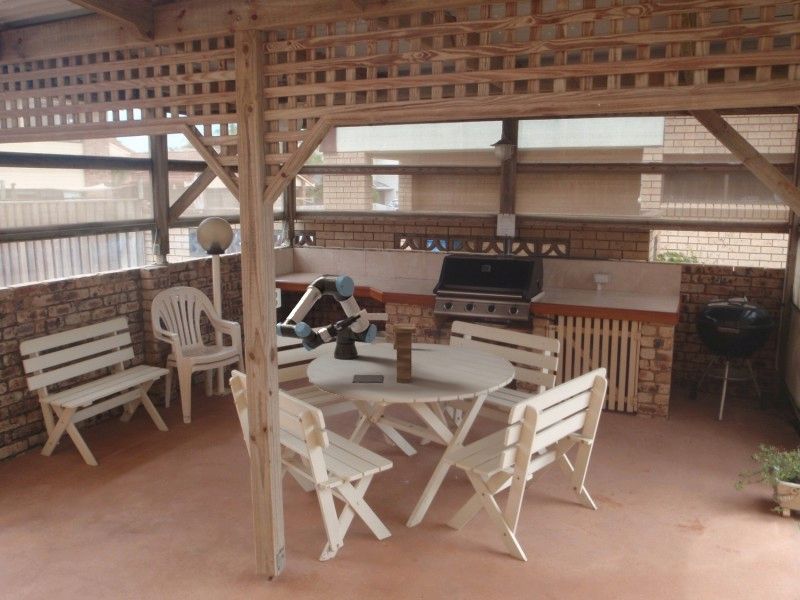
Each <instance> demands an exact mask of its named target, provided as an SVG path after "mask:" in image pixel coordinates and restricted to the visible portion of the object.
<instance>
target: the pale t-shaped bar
mask: <svg viewBox="0 0 800 600" xmlns="http://www.w3.org/2000/svg"><path fill="white" fill-rule="evenodd" d="M357 314H359V313H353V317H354V316H355V315H357ZM366 314H367V315H366V316H364V317H362V318H360V319H359V320H368V321H388V319H389V313H388V312H372V313H371V312H369V313H368V312H367V313H366Z"/></svg>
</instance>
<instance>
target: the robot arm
mask: <svg viewBox="0 0 800 600" xmlns="http://www.w3.org/2000/svg"><path fill="white" fill-rule="evenodd" d="M355 289H356V288H355V282H354V280H353V278H352V277H350V276H349V275H346V274H329V273H326V274H321V275H320V276H318V277H317V278H314V280H312V282H310V283H309V285H308V286H307V287H306V292H305V293H304V294H303V296H301V299H300V300H299V301H298V302H297V304H296V305H295V306H294V308H293V309H292V310H291V312H290V313H289V315H288V316H287V317H286V319H285V320H284V321H282V322H278V323H277V324H276V325H275V327H276V326H277V334H276V335H277V336H278V337H283V338H292V339H298V340H302V341H301V343H302V345H303V348H305V350H306V351H307V352H312V351H314V350H316V349H317V348H319V347H320V346H322V345H324V344H325V343H330V341H331V340H332V339H335V338H336V339H335V342H336V344H335V347H334V352H333V358H334V357H335V358H334V359H337V358H339V359H338V360H352V359H351V358H353V359H356V358H358V357H357V356H359V353H358V349H357V346H356V343H362V344H363V343H364V344H372V343H373V342H374V341H375V340H376V338H377V333H378V329H377V326H376V325H375V324H374V323H372V324H371V323H370V320H359V319H360V318H362V317H364V316H366V315H367V314H366V313H368V312H367V310H366V308H364V309H362V310H361V308H360V307H359V305H358V303H357V300H356V299H355V297H354V292H355ZM324 295H329V296H333V297H334V299H335V301H337V302H339V303H340V305H341V307H342V309H343V311H344V313H345V315H346V316H347V318H346V319H343V320H339V321H337V322H336V323H335V325H334V324H333V323H329V324H328V325H327V326H324V327H322V328H320V329H319V330H318V331H316V332H315V331H314V330H313V328H311V326H310V325H308V324H307V323H306V322H304V321H303V320H304V318H305V317H306V316H307V314H308V312H309V311H311V308H312V307H313V306H314V305H315V303H316V302H317V300H320V299H321V298H322V296H324ZM353 313H359V314H357V315H355V316H354V317H353ZM355 357H356V358H355Z"/></svg>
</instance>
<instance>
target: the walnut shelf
mask: <svg viewBox="0 0 800 600" xmlns="http://www.w3.org/2000/svg"><path fill="white" fill-rule="evenodd" d="M392 333H393V334H394V333H397V349H396V383H412V372H413V370H412V367H413V366H412V363H413V362H412V358H413V357H412V355H413V354H412V348H413V347H412V346H413V345H412V337H413V336H412V334H413V333H415V334H416V323H415V322H413V323H411V322H409V323H408V322H403V323H402V322H399V323H394V322H393V326H392Z"/></svg>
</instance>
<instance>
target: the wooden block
mask: <svg viewBox="0 0 800 600" xmlns="http://www.w3.org/2000/svg"><path fill="white" fill-rule="evenodd" d="M394 323H400V321H398V320H396V321H393V324H394ZM393 350H397V333H393Z"/></svg>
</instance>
